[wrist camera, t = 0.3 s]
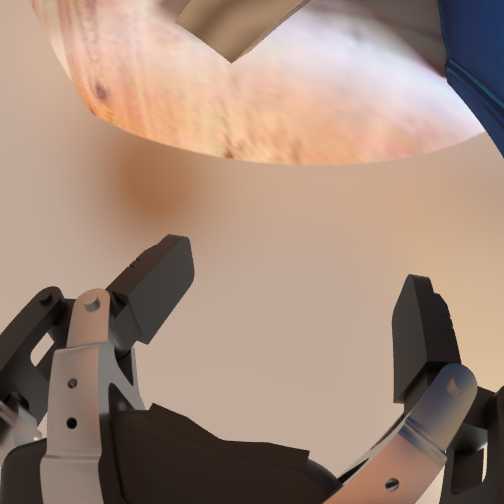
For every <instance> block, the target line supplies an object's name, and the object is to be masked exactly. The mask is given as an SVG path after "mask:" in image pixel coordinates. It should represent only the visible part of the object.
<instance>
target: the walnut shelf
mask: <svg viewBox="0 0 504 504" xmlns="http://www.w3.org/2000/svg"><path fill="white" fill-rule="evenodd" d="M309 1H311V0H191V1H190V2H189V3H188V5H187V6H186V7H185V8H184V10H183V11H182V12H181V14H180V15H179V16H178V18H177V19H176V20H175V22H176V23H178V24H179V25H181V26H182V27H184V28H185V29H187V30H188V31H189V32H191V33H192V34H194V35H195V36H196V37H198V38H199V39H201V40H202V41H203V42H205V43H206V44H207V45H209V46H210V47H211V48H213V49H214V50H215V51H216V52H218V53H219V54H220V55H222V56H223V57H224V58H225V59H227V60H228V61H229V62H230V63H233V62H234V61H236V60H237V59H239V58H240V57H242V56H243V55H245V54H246V53H248V52H249V51H251V50H252V49H253V48H254V47H255V46H257V45H258V44H259V43H260V42H261V41H262V40H263V39H264V38H265V37H266V36H268V35H269V34H270V33H271V32H272V31H273V30H274V29H276V28H277V27H278V26H279V25H280V24H282V23H283V22H284V21H285V20H286V19H288V18H289V17H290V16H291V15H293V14H294V13H295V12H296V11H298V10H299V9H300V8H301V7H303V6H304V5H305V4H307V3H308V2H309Z"/></svg>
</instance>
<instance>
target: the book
mask: <svg viewBox="0 0 504 504" xmlns="http://www.w3.org/2000/svg"><path fill="white" fill-rule="evenodd" d="M438 3H439V10H440V18H441V27H442V36H443V39H444V42H445V46H446V49H447V52H448V59H447V62H446V65H445V68H446V75H447V83H448V84H449V85H450V86H451V87H452V88H453V89H454V91H455V92H456V93H457V94H458V95H459V96H460V98H461V99H462V100H463V101H464V102H465V104H466V105H467V106H468V107H469V109H470V110H471V111H472V112H473V114H474V115H475V116H476V118H477V119H478V120H479V122H480V123H481V124H482V126H483V127H484V129H485V130H486V131H487V133H488V134H489V136H490V137H491V139H492V140H493V142H494V143H495V145H496V146H497V148H498V150H499V151H500V153H501V154H502V156H503V158H504V0H438Z"/></svg>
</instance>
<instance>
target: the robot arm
mask: <svg viewBox="0 0 504 504" xmlns="http://www.w3.org/2000/svg"><path fill="white" fill-rule="evenodd" d="M193 279H194V265H193V258H192V252H191V246H190V241H189V239H188V238H187V237H184V236H177V235H171V234H168V235H167V236H166V237H165V238H163V239H162V240H161V241H160V242H159V243H158V244H157V245H154V246H152V247H151V248H149V249H147V250H145V251H144V252H143V253H142V254H141V255H139V256H138V257H137V258H136V260H134V261H133V262H132V263H131V264H130V266H129V267H127V268H126V269H125V270H124V271H123V272H122V273H121V274H120V275H119V276H118V277H117V278H116V279H115V280H114V281H113V282H112V283H111V284H110V285H109V286H108V287H107V288H106V289H105V290H104V289H100V288H98V289H91V290H88V291H86V292H85V293H83V294H81V296H79V297H78V298H77V299H65V298H64V296H63V294H62V292H61V290H60V289H59V288H58V287H54V286H52V287H47V288H45V289H43V290H41V291H40V292H39V293H38V294H36V296H35V297H34V298H33V299H32V300H31V301H30V302H29V303H28V304H27V305H26V306H25V307H24V308H23V309H22V310H21V312H20V313H19V314H18V315H17V316H16V317H15V318H14V319H13V321H12V322H11V323H10V324H9V325H8V326H7V328H6V329H5V330H4V331H3V332H2V334H1V335H0V466H1V467H2V468H1V482H0V483H1V484H0V504H415V503H416V502H417V500H418V499H419V498H420V497H421V496H422V494H423V493H424V492H425V491H426V489H427V488H428V487H429V485H430V484H431V483H432V482H433V480H434V479H435V478H436V476H437V475H438V474H439V472H440V471H441V469H442V468H443V466H444V465H445V470H444V478H443V485H442V491H441V497H440V502H439V504H504V386H503V387H501V388H500V390H499V391H497V392H496V393H494V392H492V391H489V390H487V389H484V388H481V387H479V386H477V381H476V378H475V376H474V374H473V373H472V372H471V370H469V369H468V368H467V367H465V366H464V365H462V364H461V359H460V355H459V350H458V345H457V340H456V336H455V332H454V329H453V324H452V320H451V319H450V313H449V310H448V306H447V304H446V303H445V301H444V300H443V299H442V297H441V296H440V294H437V293H434V291H433V287H432V284H431V281H430V279H429V278H428V277H424V276H417V275H412V274H409V275H408V276H407V278H406V280H405V283H404V285H403V288H402V291H401V293H400V296H399V298H398V300H397V303H396V305H395V308H394V311H393V316H392V335H393V357H394V401H393V402H394V403H401V404H404V412H403V413H402V414H401V415H400V416H399V417H398V419H397V420H396V421H395V422H394V423H393V425H392V426H391V427H390V428H389V429H388V430H387V431H386V432H385V433H384V435H382V437H381V438H380V439H379V440H378V441H377V442H376V443H375V444H374V445H373V446H372V447H371V448H370V449H369V450H368V451H367V452H366V453H365V454H364V455H363V456H361V457H360V458H359V459H358V460H357V461H356V462H354V463H353V464H352V465H351V466H350V467H349V468H347V469H346V470H345V471H344V472H343V473H342V474H340V475H339V476H338V477H337V478H336V477H335V476H334V475H333V474H332V473H331V472H329V471H328V470H327V469H326V468H324V467H323V466H321V465H320V464H318V463H316V462H314V461H312V460H310V459H308V456H309V452H310V451H308V450H302V449H296V448H291V447H286V446H282V445H277V444H272V443H268V442H267V443H266V442H240V441H226V440H222V439H219V438H217V437H216V436H214V435H213V434H211V433H210V432H208V431H207V430H205V429H203V428H202V427H200V426H199V425H198V424H196V423H195V422H193V421H192V420H190V419H189V418H187V417H186V416H183V415H180V414H178V413H176V412H173V411H171V410H168V409H166V408H164V407H162V406H159V405H157V404H155V403H153V404H152V405H151V407H150V409H149V410H145V407H144V404H143V402H142V399H141V397H140V394H139V389H138V380H137V370H136V359H135V349H134V347H133V345H134V343H135V342H136V341H140V342H142V343H144V344H147V345H148V344H149V343H150V341H151V340H152V338H153V337H154V335H155V334H156V333H157V331H158V330H159V328H160V327H161V325H162V324H163V323H164V321H165V320H166V319H167V317H168V316H169V314H170V313H171V312H172V310H173V309H174V308H175V306H176V305H177V304H178V302H179V301H180V299H181V298H182V297H183V295H184V294H185V293H186V291H187V290H188V289H189V287H190V286H191V284H192V282H193ZM47 332H48V334H49V335H50V337H51V338H52V340H53V341H54V344H53V345H52V346H51V348H50V349H49V350H48V351H47V353H46V354H45V355H44V357H43V358H42V359H41V361H40V362H39V363H38V365H37V366H36V367H35V366H34V365H33V364H32V362H31V359H30V355H31V352H32V350H33V349H34V347H35V346H36V345H37V344H38V342H39V341H40V340H41V339H42V337H43V336H44V335H45V334H46V333H47ZM47 411H48V415H47V438H44V439H42V433H41V432H40V431H39V430H38V429H37V427H38V425H39V424H40V422H41V421H42V419H43V417H44V416H45V414H46V413H47ZM485 446H487V469H486V476H485V479H484V480H483V482H482V474H483V459H484V447H485ZM445 451H446V453H445Z"/></svg>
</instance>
